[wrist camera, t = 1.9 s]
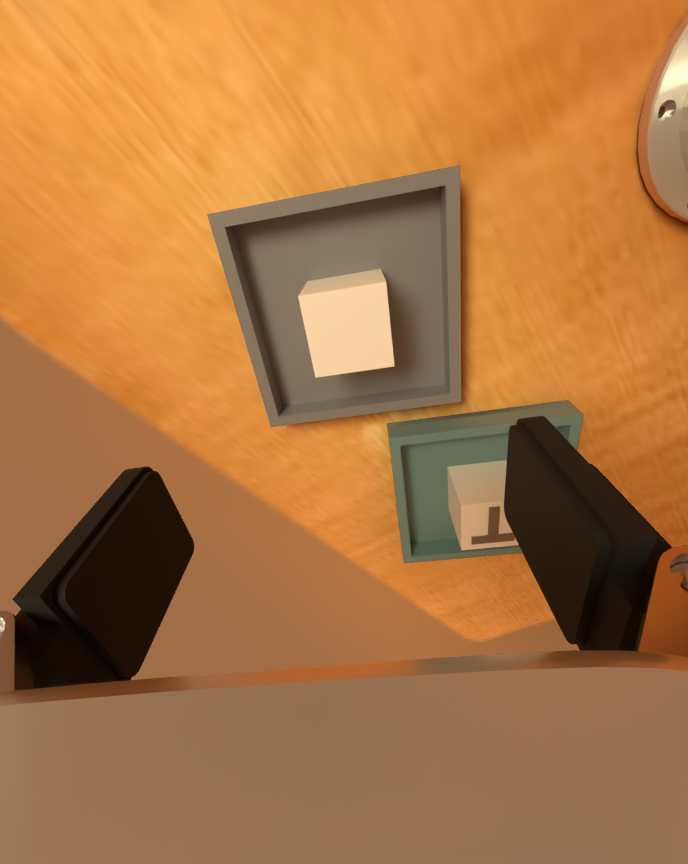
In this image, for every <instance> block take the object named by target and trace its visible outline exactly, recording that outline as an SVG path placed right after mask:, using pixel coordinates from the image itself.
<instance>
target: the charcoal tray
mask: <svg viewBox="0 0 688 864" xmlns="http://www.w3.org/2000/svg"><path fill="white" fill-rule="evenodd" d="M207 215H208V218H209V222H210V225H211V228H212V232H213V235H214V238H215V242H216V245H217V248H218V252H219V255H220V258H221V262H222V265H223V268H224V272H225V275H226V278H227V282H228V285H229V288H230V292H231V295H232V298H233V302H234V305H235V308H236V312H237V315H238V318H239V322H240V325H241V328H242V332H243V335H244V338H245V342H246V345H247V348H248V352H249V355H250V358H251V362H252V365H253V368H254V372H255V375H256V378H257V382H258V385H259V388H260V392H261V395H262V398H263V402H264V405H265V408H266V412H267V415H268V418H269V422H270V425H271V427H275V426H283V425H290V424H298V423H306V422H313V421H321V420H328V419H336V418H344V417H351V416H359V415H366V414H374V413H382V412H389V411H397V410H404V409H412V408H420V407H427V406H435V405H442V404H450V403H458V402H461V248H460V165H459V166H454V167H449V168H444V169H438V170H433V171H428V172H423V173H418V174H413V175H408V176H402V177H397V178H392V179H387V180H382V181H377V182H371V183H366V184H361V185H356V186H351V187H346V188H341V189H335V190H330V191H325V192H320V193H315V194H310V195H304V196H299V197H294V198H289V199H284V200H279V201H274V202H268V203H263V204H258V205H253V206H248V207H243V208H238V209H232V210H227V211H222V212H217V213H212V214H207ZM377 269H381V271H382V273H383V275H384V278H385V280H386V285H387V295H388V305H389V315H390V326H391V336H392V346H393V356H394V367H387V368H380V369H373V370H366V371H359V372H352V373H345V374H338V375H331V376H324V377H317V378H315V373H314V369H313V364H312V359H311V355H310V350H309V345H308V341H307V336H306V331H305V327H304V322H303V317H302V313H301V308H300V303H299V299H298V295H299V294H300V292H301V291H302V289H303V287H304V286H305V284H306V283H307V281H312V280H318V279H324V278H330V277H336V276H342V275H348V274H353V273H359V272H365V271H371V270H377Z"/></svg>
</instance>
